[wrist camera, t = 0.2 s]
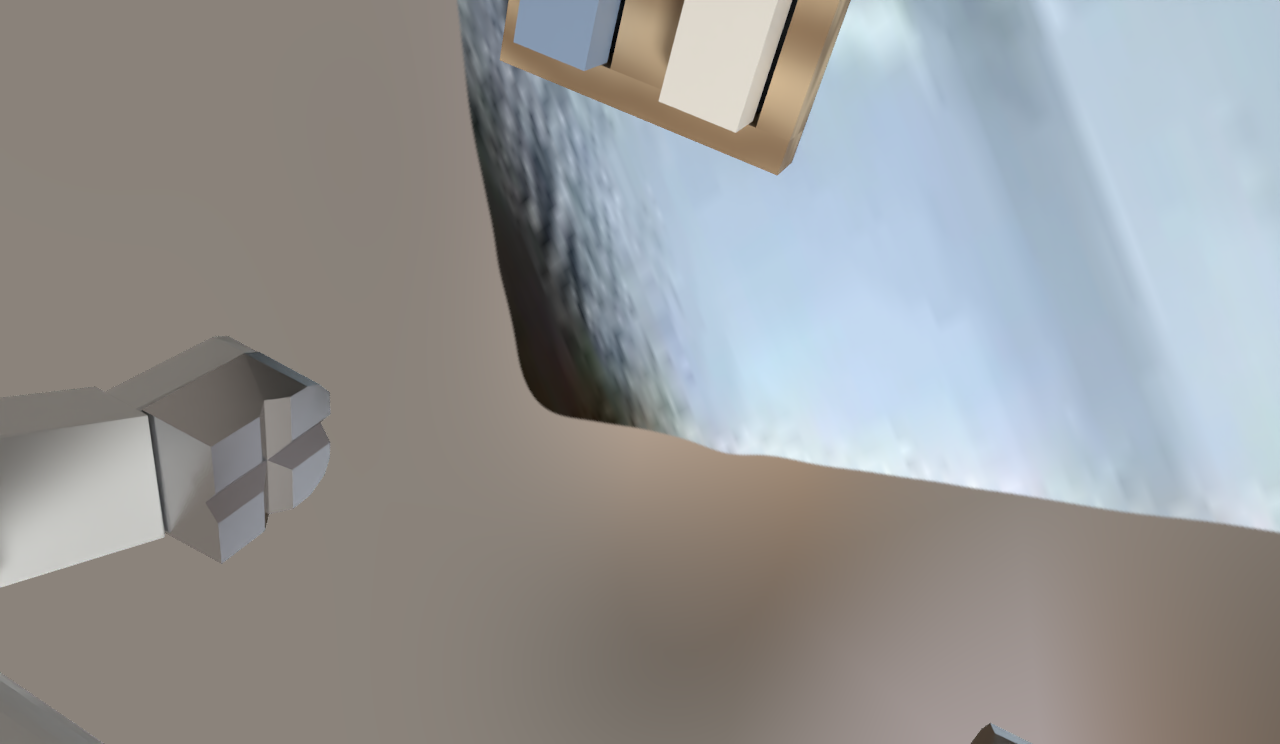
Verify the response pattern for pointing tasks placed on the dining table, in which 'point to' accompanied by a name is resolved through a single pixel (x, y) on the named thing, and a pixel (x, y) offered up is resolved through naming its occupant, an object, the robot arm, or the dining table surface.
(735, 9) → the ivory key
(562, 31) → the blue-grey rectangular block
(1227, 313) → the dining table surface
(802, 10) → the key console
